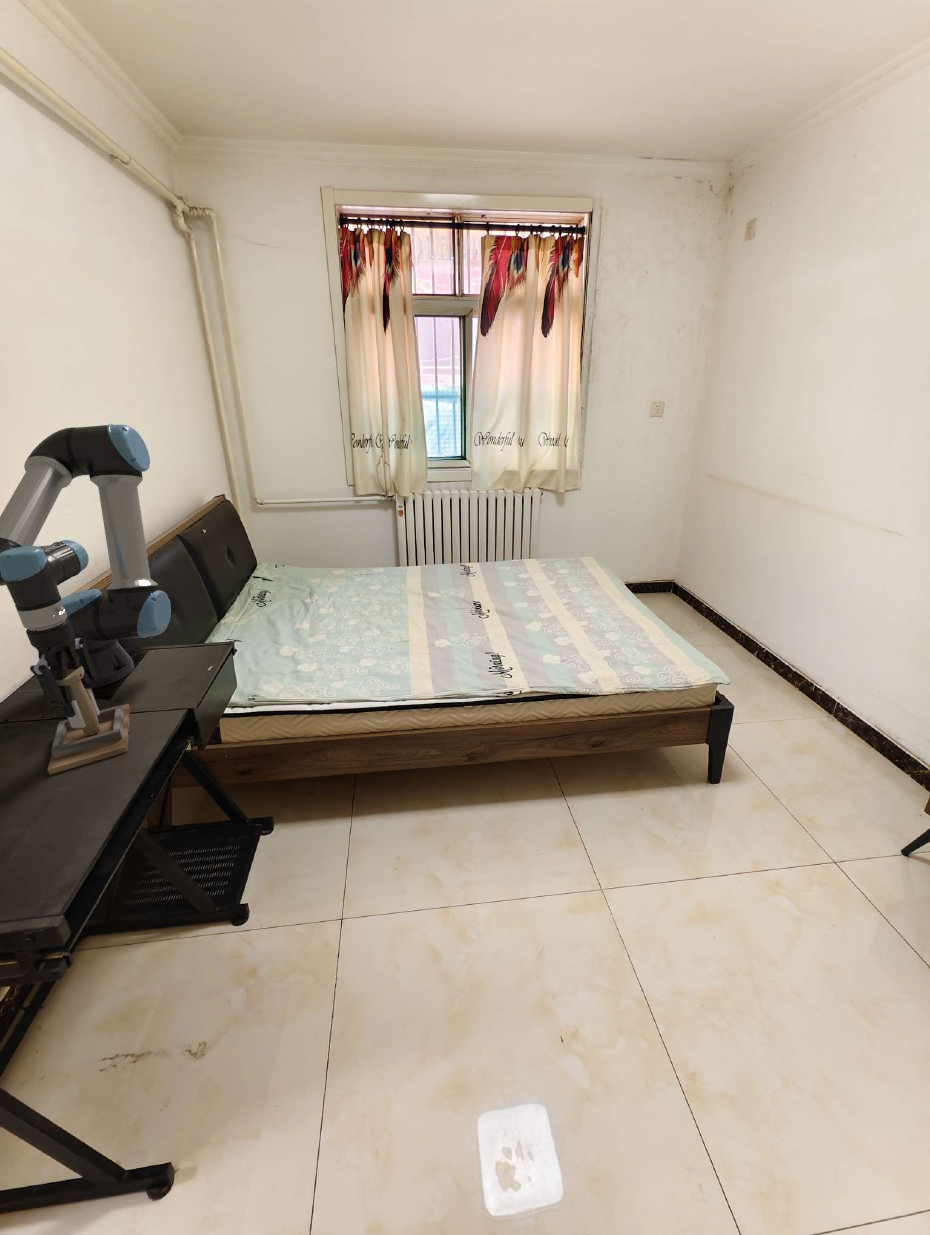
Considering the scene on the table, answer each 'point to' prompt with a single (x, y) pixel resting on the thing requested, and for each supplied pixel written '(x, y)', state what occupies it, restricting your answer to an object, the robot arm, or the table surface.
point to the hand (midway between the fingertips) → (86, 720)
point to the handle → (81, 699)
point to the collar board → (90, 740)
